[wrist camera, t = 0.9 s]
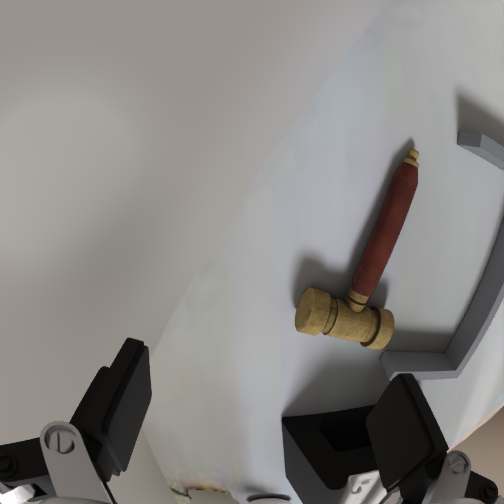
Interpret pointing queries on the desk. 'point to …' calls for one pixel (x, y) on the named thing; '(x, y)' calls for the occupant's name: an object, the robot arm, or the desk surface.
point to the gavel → (364, 275)
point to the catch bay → (481, 309)
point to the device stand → (332, 458)
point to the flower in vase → (270, 501)
